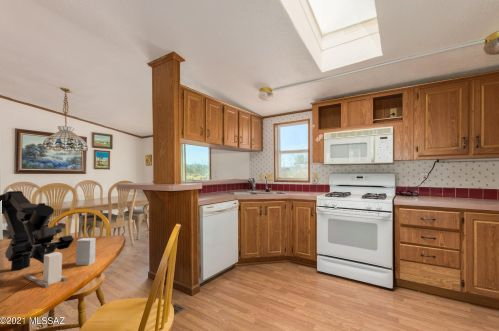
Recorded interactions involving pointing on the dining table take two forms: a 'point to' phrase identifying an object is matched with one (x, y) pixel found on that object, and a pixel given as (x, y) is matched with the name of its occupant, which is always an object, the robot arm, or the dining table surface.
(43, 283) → the track
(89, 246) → the skincare box
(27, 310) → the dining table surface
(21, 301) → the dining table surface
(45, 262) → the slider block
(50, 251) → the robot arm
